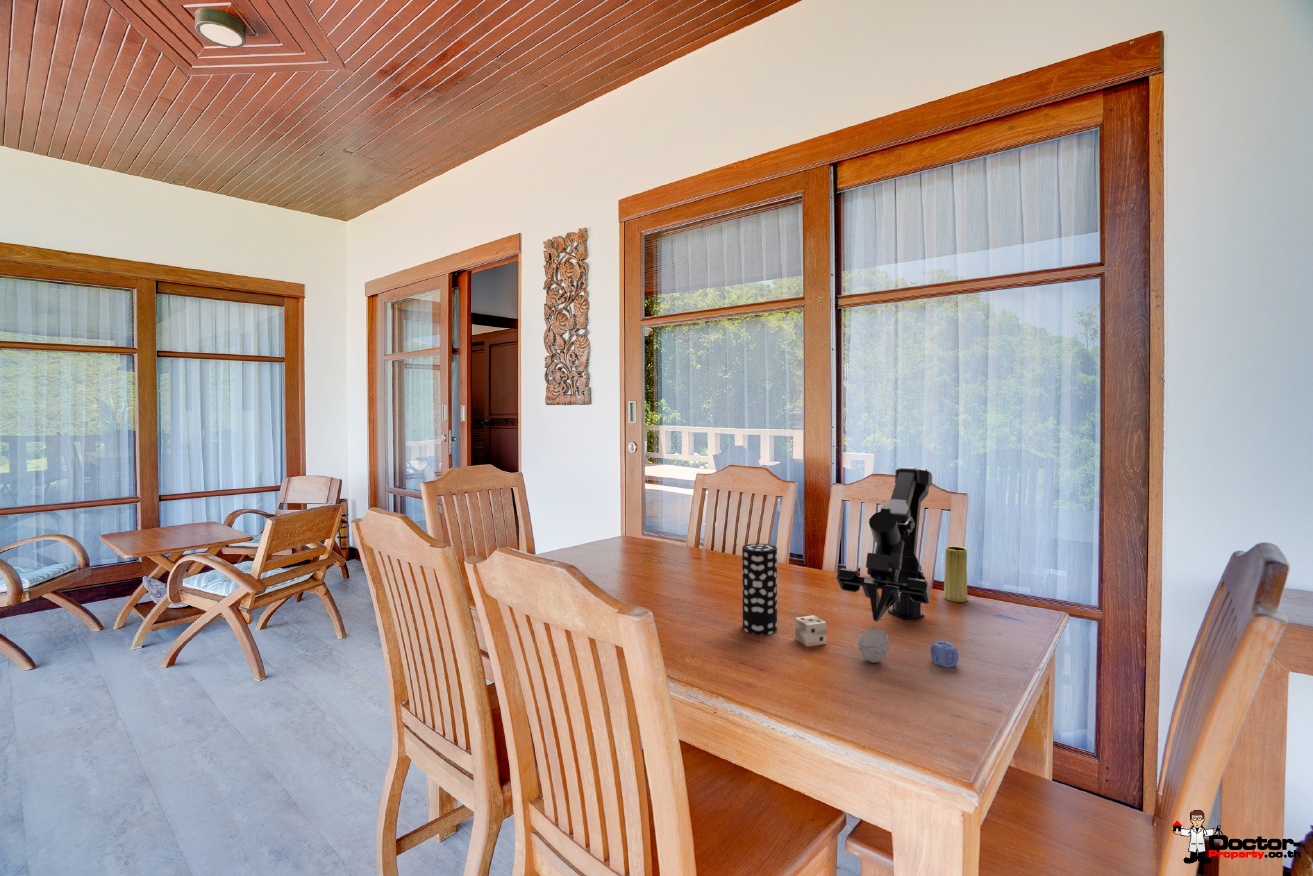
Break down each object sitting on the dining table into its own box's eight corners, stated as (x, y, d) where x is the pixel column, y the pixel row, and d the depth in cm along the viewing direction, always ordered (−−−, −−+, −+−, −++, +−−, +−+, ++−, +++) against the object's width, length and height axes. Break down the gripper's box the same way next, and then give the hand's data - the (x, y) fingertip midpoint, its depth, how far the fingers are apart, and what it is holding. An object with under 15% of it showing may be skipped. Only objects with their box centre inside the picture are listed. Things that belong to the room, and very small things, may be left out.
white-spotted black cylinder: (756, 637, 137) (756, 553, 136) (735, 626, 144) (735, 546, 143) (784, 631, 141) (784, 548, 140) (762, 620, 148) (762, 542, 147)
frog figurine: (896, 662, 123) (896, 629, 123) (876, 670, 119) (876, 637, 119) (870, 652, 128) (871, 621, 128) (850, 660, 124) (851, 628, 124)
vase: (965, 596, 165) (966, 546, 165) (969, 603, 159) (970, 551, 159) (942, 594, 167) (942, 545, 167) (945, 601, 161) (945, 550, 161)
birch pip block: (795, 639, 136) (795, 617, 136) (813, 636, 138) (813, 614, 137) (807, 647, 131) (807, 624, 131) (826, 644, 133) (826, 622, 133)
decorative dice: (948, 659, 124) (948, 640, 124) (958, 667, 120) (959, 648, 120) (929, 659, 124) (930, 641, 124) (939, 668, 120) (939, 648, 120)
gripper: (839, 533, 133) (823, 594, 125) (928, 542, 123) (917, 609, 114) (848, 559, 140) (834, 619, 131) (934, 570, 130) (924, 636, 121)
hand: (875, 620), depth 124 cm, fingers closed
